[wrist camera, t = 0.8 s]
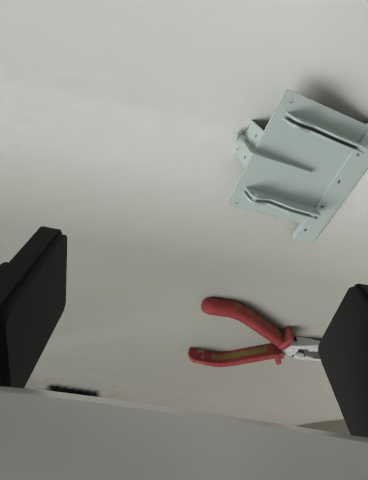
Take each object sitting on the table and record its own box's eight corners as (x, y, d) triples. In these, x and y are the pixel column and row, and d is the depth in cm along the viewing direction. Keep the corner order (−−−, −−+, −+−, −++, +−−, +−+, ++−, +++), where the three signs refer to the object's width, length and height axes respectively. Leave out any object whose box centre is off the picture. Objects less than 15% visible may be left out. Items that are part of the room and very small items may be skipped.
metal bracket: (215, 229, 32) (303, 63, 24) (200, 198, 36) (270, 49, 29) (328, 254, 37) (428, 125, 30) (303, 224, 42) (384, 106, 34)
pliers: (319, 373, 50) (324, 388, 48) (187, 351, 50) (186, 365, 47) (353, 317, 45) (361, 332, 42) (203, 291, 44) (203, 305, 41)
